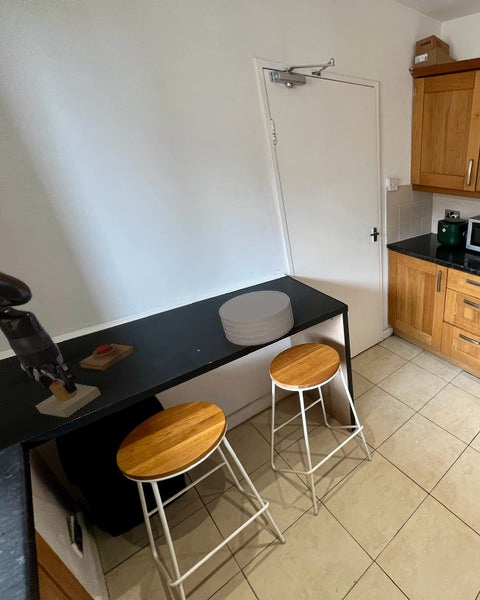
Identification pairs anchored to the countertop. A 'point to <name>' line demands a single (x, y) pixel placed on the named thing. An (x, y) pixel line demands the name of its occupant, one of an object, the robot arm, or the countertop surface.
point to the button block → (107, 357)
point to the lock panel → (69, 402)
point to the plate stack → (257, 317)
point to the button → (104, 349)
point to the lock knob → (60, 391)
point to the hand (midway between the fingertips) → (61, 389)
